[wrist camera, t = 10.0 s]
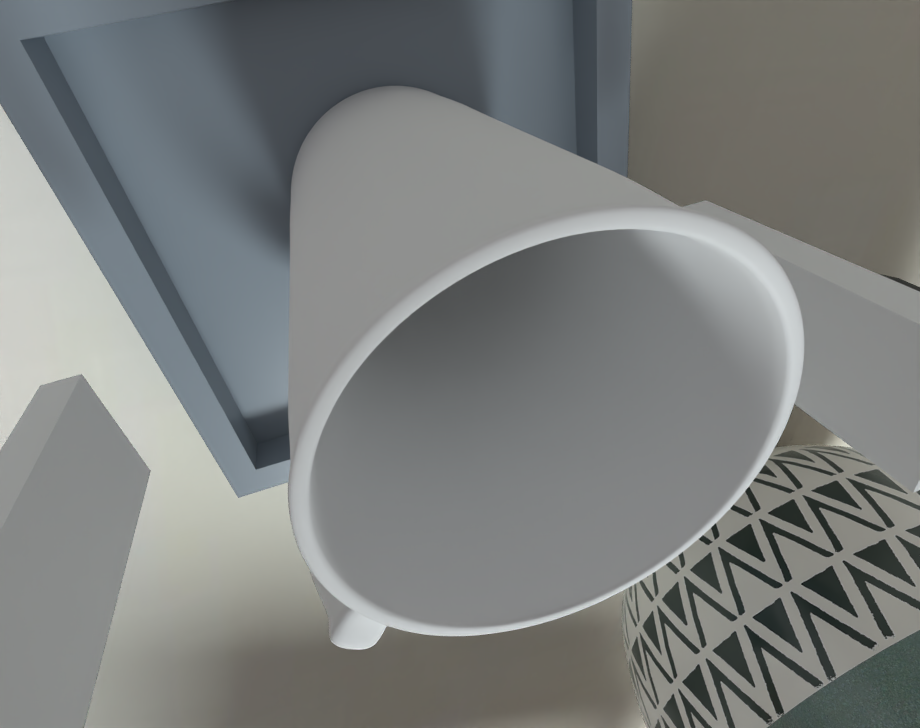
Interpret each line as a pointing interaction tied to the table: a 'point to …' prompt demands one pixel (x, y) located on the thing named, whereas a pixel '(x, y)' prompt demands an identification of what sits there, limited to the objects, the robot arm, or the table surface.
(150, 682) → the table surface
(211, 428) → the tray
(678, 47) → the table surface
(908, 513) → the planter
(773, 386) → the mug
